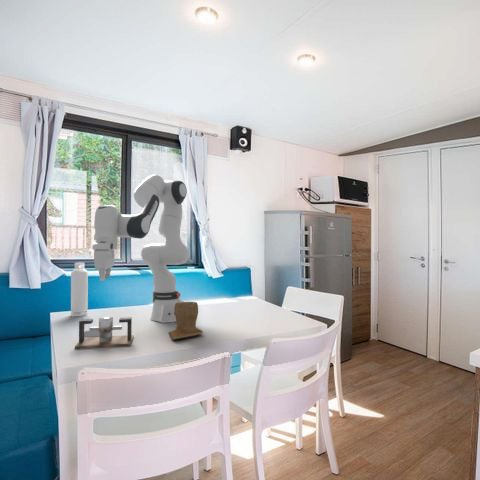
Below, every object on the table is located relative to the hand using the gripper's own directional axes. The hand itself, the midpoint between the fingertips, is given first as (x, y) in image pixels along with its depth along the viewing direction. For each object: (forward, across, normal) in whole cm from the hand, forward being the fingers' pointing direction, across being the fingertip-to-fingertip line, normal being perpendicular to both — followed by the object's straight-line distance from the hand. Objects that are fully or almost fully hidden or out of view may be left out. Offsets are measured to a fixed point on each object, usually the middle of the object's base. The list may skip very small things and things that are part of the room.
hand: (105, 279), depth 132 cm
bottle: (+25, -50, -22) cm, 60 cm away
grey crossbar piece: (+20, +1, +1) cm, 20 cm away
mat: (+25, -11, -6) cm, 28 cm away
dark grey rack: (+25, +1, +1) cm, 25 cm away
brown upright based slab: (+25, -3, +32) cm, 41 cm away
